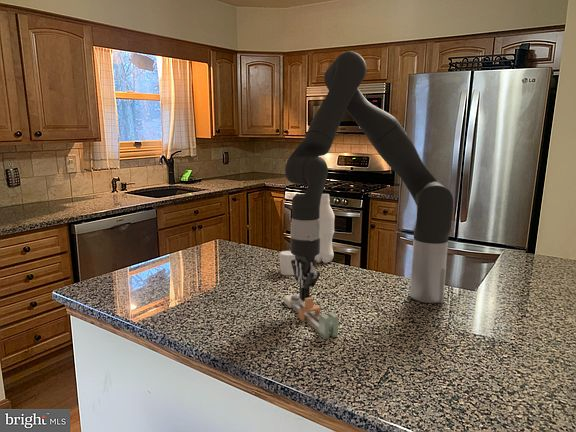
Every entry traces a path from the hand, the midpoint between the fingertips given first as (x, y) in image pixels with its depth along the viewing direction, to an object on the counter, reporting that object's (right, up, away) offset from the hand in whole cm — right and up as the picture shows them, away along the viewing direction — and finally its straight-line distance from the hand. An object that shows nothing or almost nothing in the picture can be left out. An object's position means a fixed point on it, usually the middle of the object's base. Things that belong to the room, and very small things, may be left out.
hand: (304, 299), depth 111 cm
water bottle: (+9, +5, +46) cm, 47 cm away
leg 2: (+3, -5, -3) cm, 7 cm away
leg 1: (+1, -5, -4) cm, 7 cm away
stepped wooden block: (+1, -4, -2) cm, 5 cm away
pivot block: (-2, -3, +6) cm, 7 cm away
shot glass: (-4, +2, +33) cm, 34 cm away
